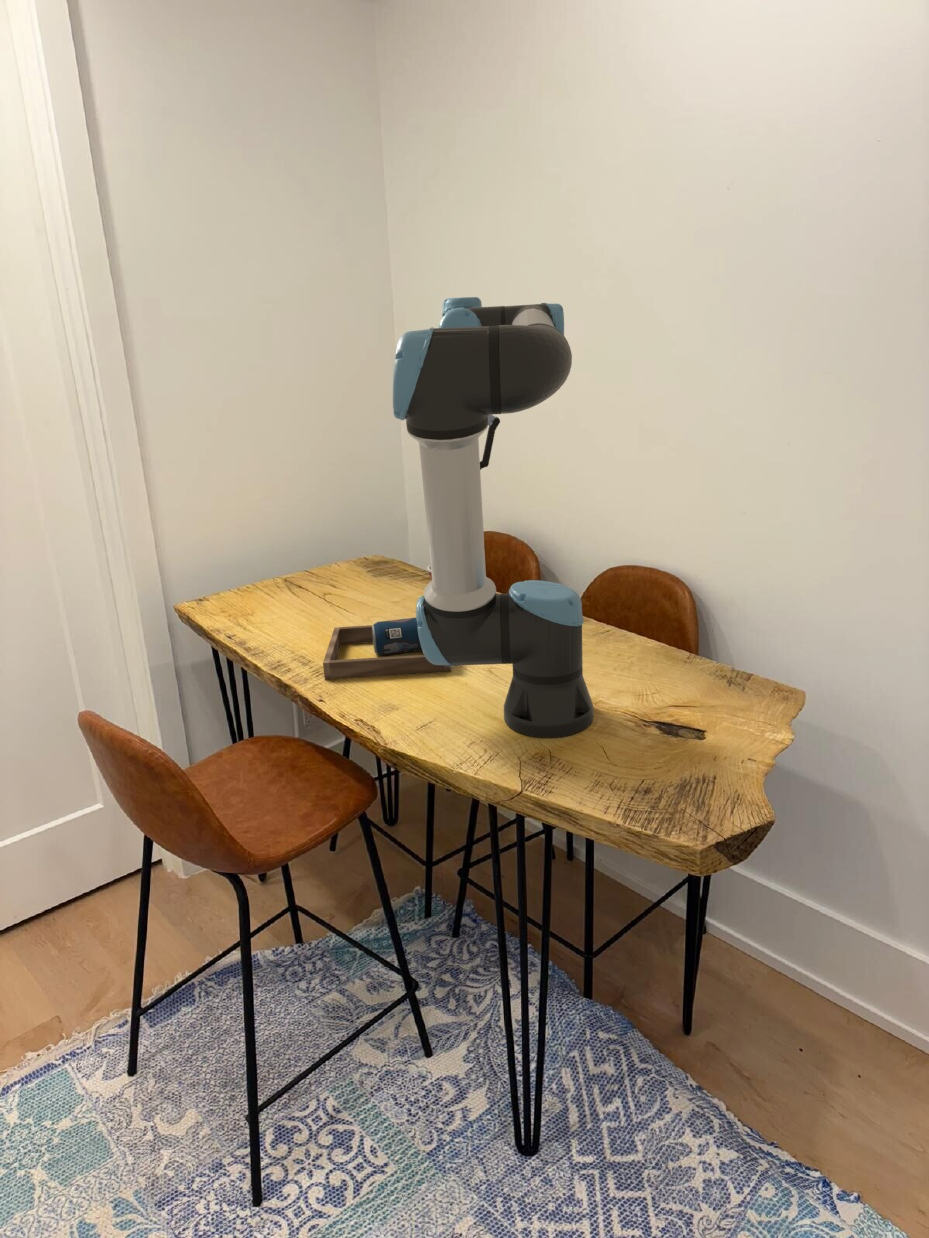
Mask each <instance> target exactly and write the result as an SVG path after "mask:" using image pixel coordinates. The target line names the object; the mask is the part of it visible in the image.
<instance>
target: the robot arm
mask: <svg viewBox="0 0 929 1238" xmlns="http://www.w3.org/2000/svg"><path fill="white" fill-rule="evenodd" d="M441 316H442V317H441V319H440V320H439V324H438V327H436V328H434V327H432V326H431V327H430V328H428V329H426V328H425V329H418V330H409V331H406V332H405V333H403V334H402V335H401V336H400V337H399V338H398V341H397V344H396V349H395V355H394V365H393V374H392V375H393V377H392V378H393V379H392V408H393V409H392V410H393V417H394V418H395V419H398V420H400V421H404V420H405V424H406V431H407V435H409V436H410V437H411V438H412V439H414V440H416V441H417V442H418V445H419V446H418V447H419V456H420V457H419V458H420V467H421V477H422V487H423V488H422V489H423V498H424V508H425V509H424V510H425V520H426V531H427V539H428V540H427V543H428V551H429V563H430V565H431V574H432V581H431V580H430V581H429V583H427V585H426V586H425V588H424V590H423V595H421V596H419V597H418V598H417V601H416V605H415V616H416V617H415V618H416V619H417V625H418V635H419V640H420V644H421V648H422V650H421V651H422V653H423V655H424V656H425V657H426V659H427V660H428V661H429V662H430V663H432V664H434V665H449V666H451V667H453V668H454V667H455V668H457V667H458V666H478V665H480V666H481V665H482V666H483V665H504V664H505V665H510V664H511V665H512V678H511V681H510V684H509V688H508V691H507V694H506V698H505V700H504V704H503V720H504V723H505V724H506V725H507V726H508V727H509V729H511V730H513V731H515V732H516V733H519V734H522V735H526V736H529V737H535V738H561V737H566V736H567V737H568V736H572V735H575V734H578V733H580V732H582V731H584V730H586V729H587V728H588V727H590V726H591V724H592V723H593V720H594V704H593V701H592V698H591V694H590V692H589V689H588V687H587V683H586V680H585V679H584V675H583V672H584V671H583V660H584V659H583V624H584V622H585V621H584V620H585V619H584V616H583V608H582V607H583V605H582V599H581V596H580V595H579V594H578V592H577V591H575V590H574V589H572V588H571V587H568V586H566V585H564V584H562V583H557V582H553V581H547V580H536V579H531V580H530V579H529V580H524V581H517V582H515V583H513V584H512V585H511V586H510V588H509V590H508V593H507V592H506V593H505V592H504V593H497V587H496V585H495V582H494V581H493V580H492V579H491V578H489V577H487V572H486V555H485V535H484V534H485V533H484V518H483V501H482V500H483V498H482V482H481V481H482V480H481V470H482V469H484V468H487V467H488V466H489V465H490V459H491V454H492V449H493V444H494V440H495V439H494V437H495V433H496V430H497V428H498V426H499V425H500V423H501V420H500V418H499V417H498V416H495V415H505V414H508V415H509V414H513V413H514V414H515V413H519V412H523V411H525V410H529V409H532V408H533V407H536V406H537V405H540V404H541V403H543V402H544V401H546V400H547V399H549V398H550V397H552V396H553V395H555V394H556V393H557V391H559V390H560V389H561V388H562V386H563V385H564V384H565V383H566V381H567V380H568V377H569V375H570V372H571V368H572V365H573V364H572V363H573V354H572V350H571V346H570V344H569V342H568V339H567V338H566V337H565V312H564V307H563V305H561V304H560V303H547V302H541V303H535V304H534V303H533V304H522V305H520V304H519V305H506V306H505V305H500V306H499V305H498V306H496V305H495V306H483V305H482V300H481V299H480V298H479V297H478V296H472V297H471V296H470V297H469V296H468V297H466V296H465V297H450V298H446V299H444V300H442V313H441ZM486 430H487V434H486V439H485V445H484V449H483V455H482V460H481V461H480V446H479V445H480V442H479V438H480V436H482V434H484V433H485V431H486Z"/></svg>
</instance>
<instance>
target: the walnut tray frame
mask: <svg viewBox="0 0 929 1238" xmlns="http://www.w3.org/2000/svg"><path fill="white" fill-rule="evenodd" d="M372 625H373V624H371V625H355V626H354V625H353V626H352V625H351V626H337V627H336V626H335V627H334V628H333V631H332V634H331V638H330V640H329V643H328V646H327V649H326V653H325V656H324V659H323V661H322V666H323V677H324V680H325V681H327V680H329V681H331V680H343V679H345V680H346V679H358V678H359V679H360V678H376V677H377V678H378V677H392V676H408V675H425V674H426V675H427V674H441V673H443V674H444V673H452V666H449V665H434V664H432V663H430V662H429V661H428V660H427V659H426V657H425V656H424V654H418V655H417V654H416V655H415V654H414V655H401V656H400V655H398V656H397V655H396V656H384V657H383V656H382V657H381V656H380V657H365V658H363V657H362V658H351V659H349V658H347V659H338V657H339V653H340V648H341V646H342V645H350V644H365V643H367V644H368V643H373V638H372Z"/></svg>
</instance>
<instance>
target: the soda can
mask: <svg viewBox="0 0 929 1238" xmlns="http://www.w3.org/2000/svg"><path fill="white" fill-rule="evenodd" d="M371 625H372V638H373V642H372V644H373V651H374V653H375V654H376V655H380V656H385V655H393V654H401V653H402V654H403V653H411V652H418V651H419V652H420V651H422V648H421V644H420V640H419V635H418V625H417V619H416V617H410V618H409V617H408V618H400V619H390V620H382V621H381V620H380V621H376V622H375V623H374V624H371Z"/></svg>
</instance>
